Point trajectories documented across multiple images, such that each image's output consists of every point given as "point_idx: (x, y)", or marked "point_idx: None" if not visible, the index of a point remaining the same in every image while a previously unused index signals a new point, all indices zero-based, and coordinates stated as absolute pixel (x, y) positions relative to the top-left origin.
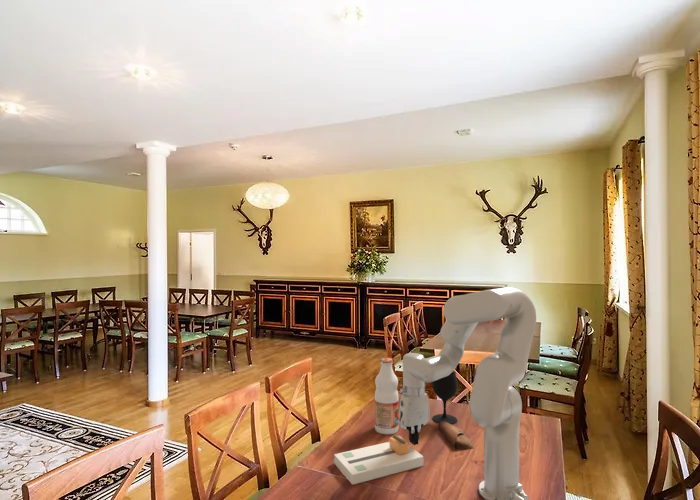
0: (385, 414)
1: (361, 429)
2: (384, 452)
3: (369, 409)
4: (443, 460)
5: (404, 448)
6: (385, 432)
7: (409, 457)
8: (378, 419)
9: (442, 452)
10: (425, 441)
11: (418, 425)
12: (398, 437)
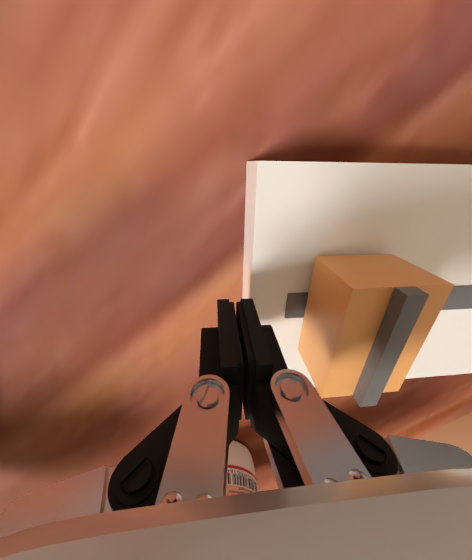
0: None
1: None
2: None
3: None
4: (78, 158)
5: (372, 268)
6: (235, 447)
7: (355, 198)
8: None
9: (43, 251)
10: (97, 369)
11: (215, 474)
12: (381, 371)
